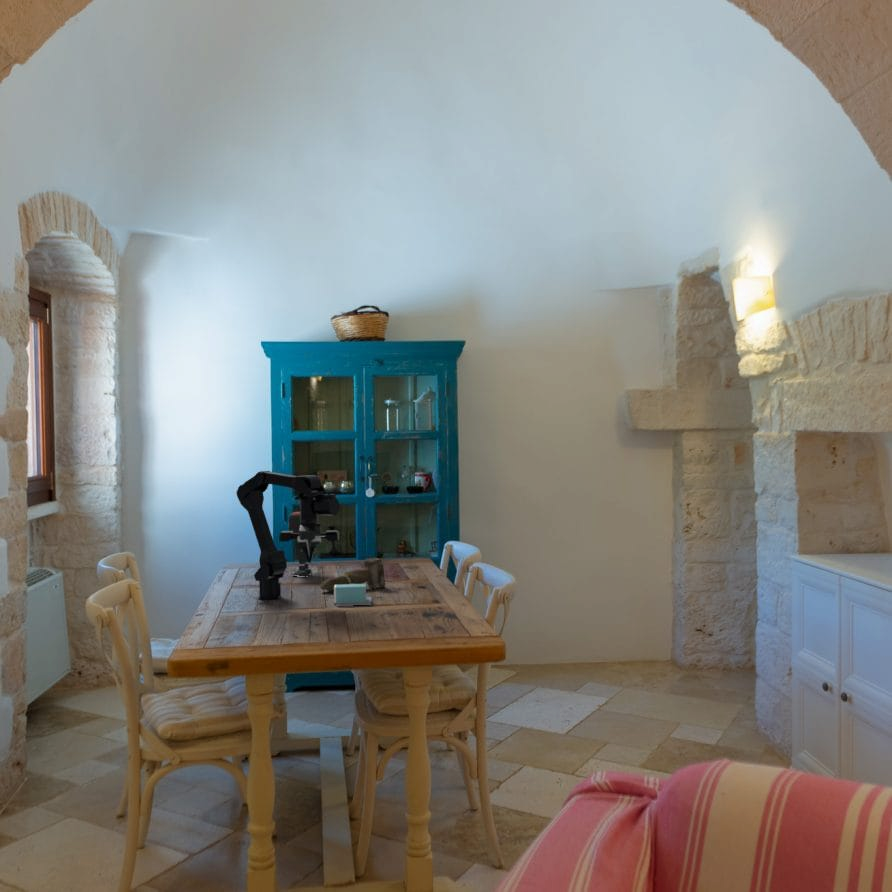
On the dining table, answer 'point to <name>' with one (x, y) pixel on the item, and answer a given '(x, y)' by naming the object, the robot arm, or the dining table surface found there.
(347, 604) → the felt mat
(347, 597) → the teal block
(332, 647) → the dining table surface
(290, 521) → the toy robot
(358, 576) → the sculpture
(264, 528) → the robot arm
